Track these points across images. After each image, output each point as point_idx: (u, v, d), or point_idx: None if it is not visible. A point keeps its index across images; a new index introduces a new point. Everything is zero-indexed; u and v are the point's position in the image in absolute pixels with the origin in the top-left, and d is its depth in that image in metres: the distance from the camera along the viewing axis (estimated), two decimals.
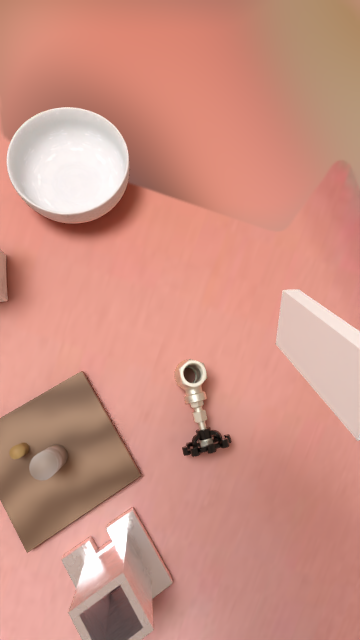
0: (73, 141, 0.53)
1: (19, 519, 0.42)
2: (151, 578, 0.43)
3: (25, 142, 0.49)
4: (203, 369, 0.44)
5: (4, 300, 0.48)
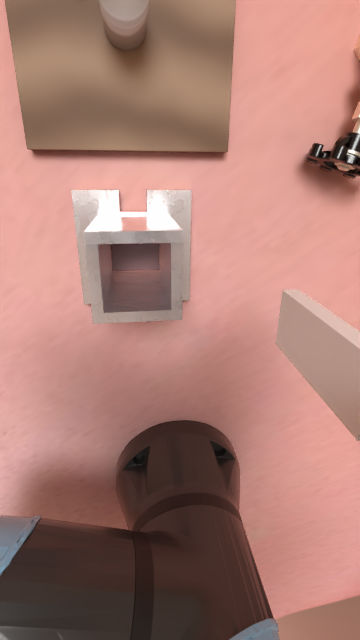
0: None
1: (31, 91, 0.25)
2: None
3: None
4: None
5: None
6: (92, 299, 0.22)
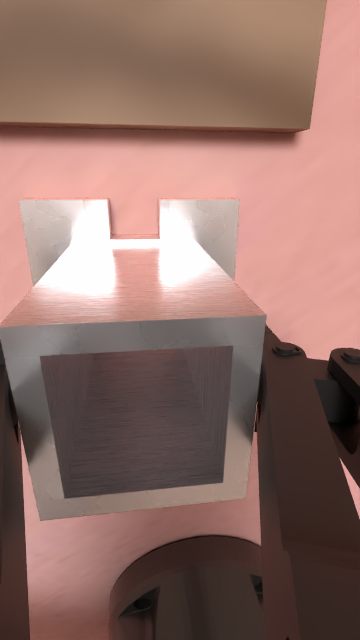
0: None
1: None
2: None
3: None
4: None
5: None
6: (35, 475, 0.09)
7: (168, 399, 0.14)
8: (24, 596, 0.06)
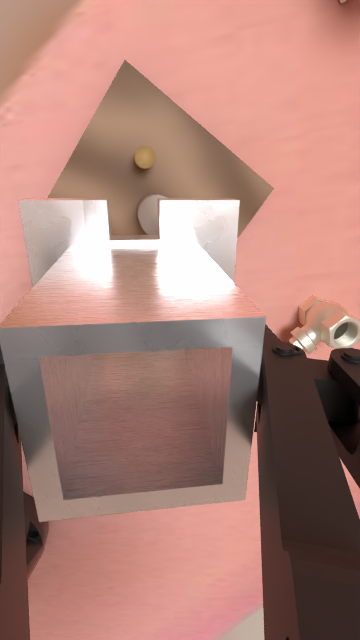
0: None
1: None
2: None
3: None
4: (354, 342, 0.33)
5: None
6: (34, 476, 0.09)
7: (167, 400, 0.14)
8: (24, 596, 0.06)
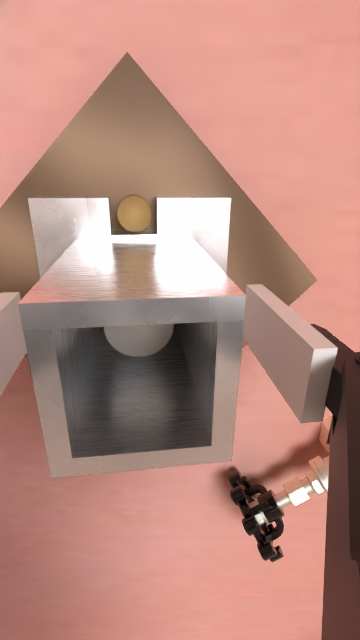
0: None
1: None
2: None
3: None
4: None
5: None
6: (47, 435, 0.10)
7: (164, 379, 0.15)
8: None
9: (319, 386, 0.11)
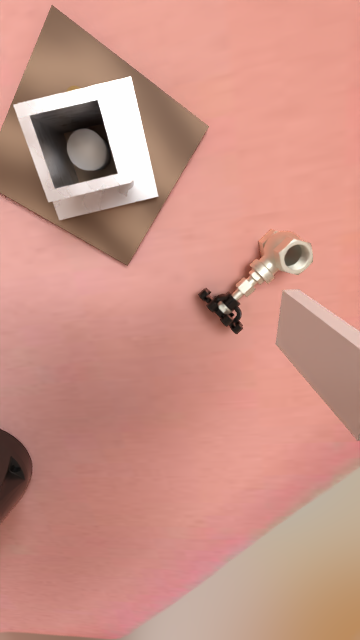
0: None
1: (4, 149, 0.32)
2: (134, 179, 0.33)
3: None
4: (306, 265, 0.35)
5: None
6: (40, 176, 0.23)
7: None
8: None
9: None
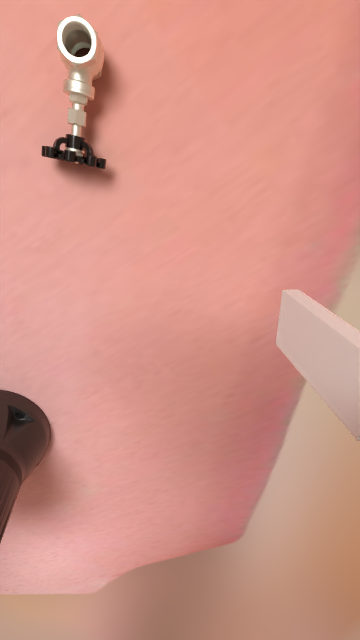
0: None
1: None
2: None
3: None
4: (93, 42, 0.30)
5: None
6: None
7: None
8: None
9: None
